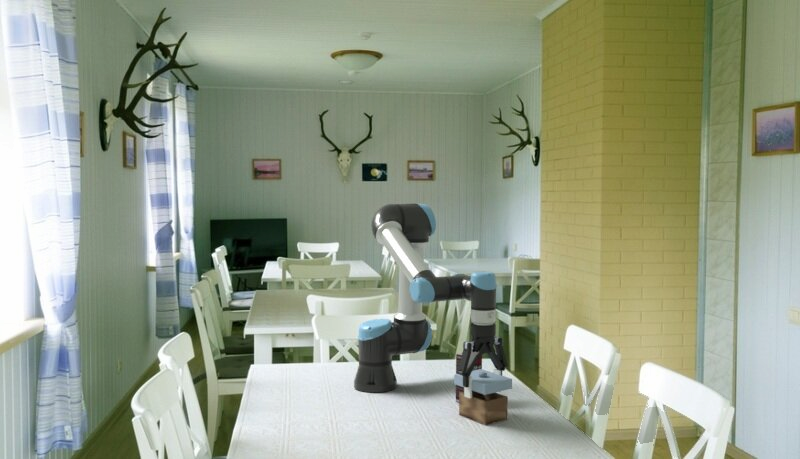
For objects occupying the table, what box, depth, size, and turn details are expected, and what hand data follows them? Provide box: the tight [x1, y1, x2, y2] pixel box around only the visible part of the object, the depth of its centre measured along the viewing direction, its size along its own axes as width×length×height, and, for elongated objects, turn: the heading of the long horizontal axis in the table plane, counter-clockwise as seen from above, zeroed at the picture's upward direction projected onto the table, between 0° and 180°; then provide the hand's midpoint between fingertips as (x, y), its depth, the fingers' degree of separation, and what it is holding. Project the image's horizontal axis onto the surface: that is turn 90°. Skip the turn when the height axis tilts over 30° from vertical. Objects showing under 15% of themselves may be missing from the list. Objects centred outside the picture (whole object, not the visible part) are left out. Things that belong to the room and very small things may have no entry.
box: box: [458, 390, 509, 426], centre depth 219 cm, size 12×9×7 cm
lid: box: [453, 368, 513, 395], centre depth 219 cm, size 14×11×5 cm
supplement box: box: [455, 352, 483, 403], centre depth 237 cm, size 9×5×16 cm, turn 137°
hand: (482, 394), depth 219 cm, fingers closed on lid, 11 cm apart
